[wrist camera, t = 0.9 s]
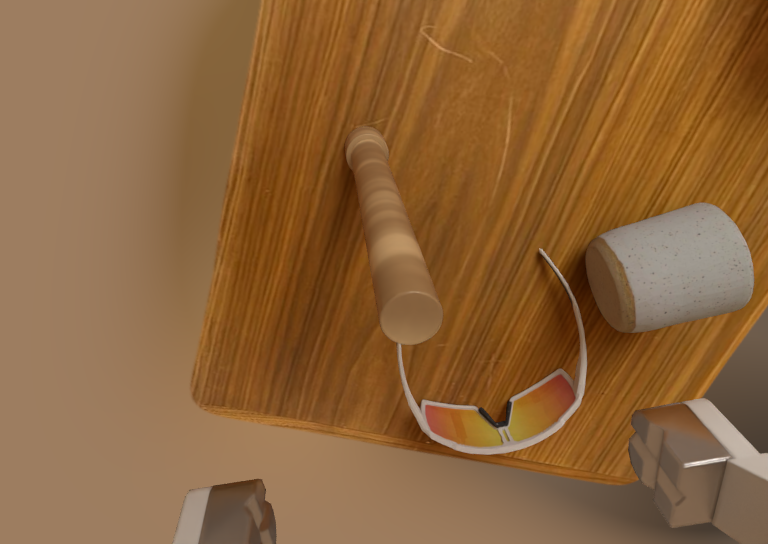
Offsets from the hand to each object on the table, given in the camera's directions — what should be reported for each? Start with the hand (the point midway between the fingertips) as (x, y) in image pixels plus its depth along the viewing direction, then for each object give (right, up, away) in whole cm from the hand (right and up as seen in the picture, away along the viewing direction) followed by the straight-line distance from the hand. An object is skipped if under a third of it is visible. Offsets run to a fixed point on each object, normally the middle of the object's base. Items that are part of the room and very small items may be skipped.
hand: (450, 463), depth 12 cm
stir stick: (-3, +12, +22) cm, 26 cm away
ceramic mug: (+18, +5, +29) cm, 34 cm away
